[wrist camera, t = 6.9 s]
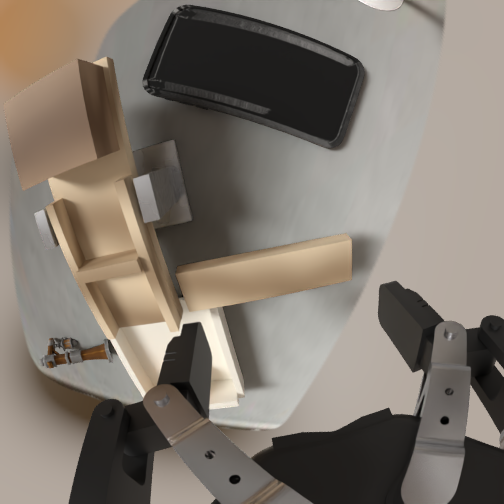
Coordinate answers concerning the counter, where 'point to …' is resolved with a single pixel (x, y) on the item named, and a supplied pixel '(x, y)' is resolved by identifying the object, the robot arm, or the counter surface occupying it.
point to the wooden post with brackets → (73, 353)
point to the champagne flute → (383, 4)
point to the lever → (134, 212)
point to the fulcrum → (147, 191)
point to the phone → (255, 73)
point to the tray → (154, 347)
